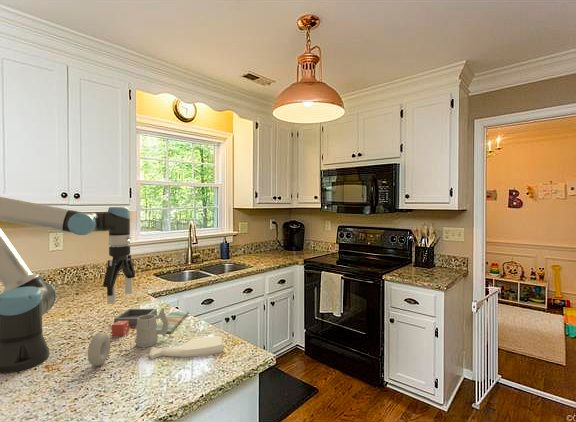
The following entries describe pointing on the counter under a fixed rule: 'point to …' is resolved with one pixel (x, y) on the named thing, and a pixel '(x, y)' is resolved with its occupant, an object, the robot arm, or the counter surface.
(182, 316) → the board
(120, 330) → the die
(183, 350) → the beige tapered paddle
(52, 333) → the counter surface
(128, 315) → the tray
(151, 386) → the counter surface
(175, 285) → the counter surface
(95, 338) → the donut
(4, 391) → the counter surface
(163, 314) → the mug
